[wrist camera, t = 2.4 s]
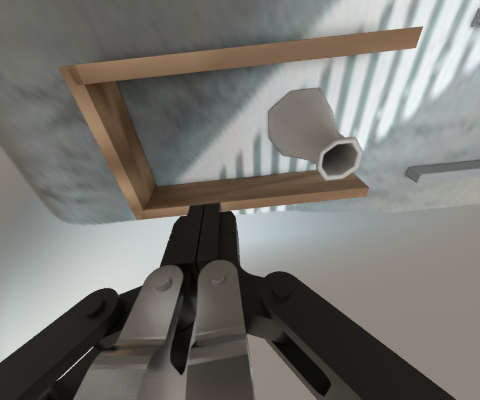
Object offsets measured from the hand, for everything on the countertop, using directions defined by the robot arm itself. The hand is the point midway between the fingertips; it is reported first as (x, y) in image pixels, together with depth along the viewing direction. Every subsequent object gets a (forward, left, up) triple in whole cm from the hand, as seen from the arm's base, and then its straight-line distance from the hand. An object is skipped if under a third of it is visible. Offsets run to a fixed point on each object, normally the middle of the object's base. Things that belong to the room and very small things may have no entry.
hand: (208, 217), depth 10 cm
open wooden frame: (0, +3, -15) cm, 15 cm away
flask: (0, +9, -15) cm, 17 cm away
